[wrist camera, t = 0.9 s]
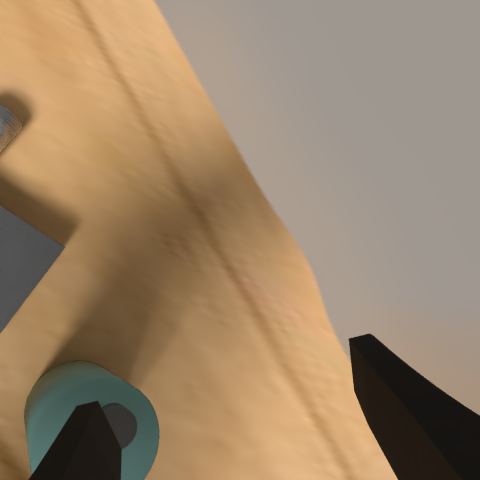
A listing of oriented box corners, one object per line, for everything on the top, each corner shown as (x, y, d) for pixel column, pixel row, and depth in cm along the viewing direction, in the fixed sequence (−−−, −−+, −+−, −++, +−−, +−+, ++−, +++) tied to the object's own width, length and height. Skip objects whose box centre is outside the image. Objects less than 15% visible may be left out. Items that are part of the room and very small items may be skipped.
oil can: (86, 469, 21) (122, 546, 14) (3, 430, 20) (-1, 493, 13) (135, 386, 23) (189, 418, 16) (61, 344, 22) (86, 360, 15)
